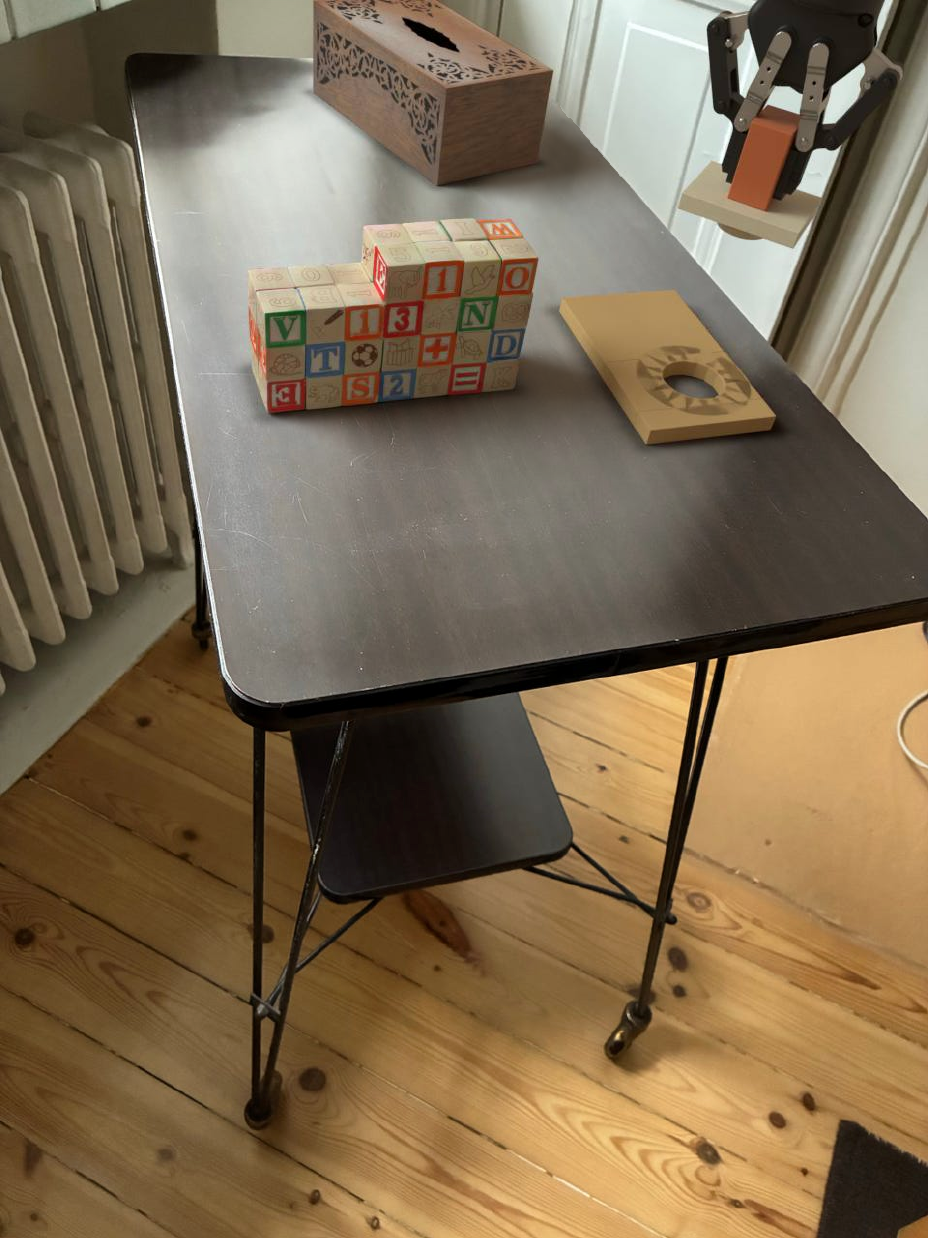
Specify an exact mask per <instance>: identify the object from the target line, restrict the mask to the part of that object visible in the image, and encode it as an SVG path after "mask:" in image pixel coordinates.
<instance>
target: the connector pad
mask: <svg viewBox="0 0 928 1238" xmlns="http://www.w3.org/2000/svg"><path fill="white" fill-rule="evenodd" d="M799 120H800V113H796V112H793V111H790V110H786V109H783V108H780V107H777V106H775V105H771V104H766V105H765V106H764V108H763V110H762V111H761V112H760V113H759V115H758V116H757V117H756V118H755V119H754V120H753V121H752V123H751V126H750V129H749V132H748V135H747V138H746V141H745V144H744V147H743V150H742V153H741V156H740V159H739V162H738V166H737V169H736V172H735V175H734V178H733V181H732V184H730V183H727V182H726V178H727V173H724V172H722V163H720V162H717V161H714V160H711V161H710V162H709V163H708V164H707V165H706V166H705V167H704V168H703V169H702V170H701V172H700V173H699V174H698V175H697V176H696V177H695V178H694V179H693V180H692V181H691V182H690V183H689V185H688V186H687V187H686V188H685V189H684V190H683V191H682V192H681V194H680V198H679V202H678V206H677V209H678V210H681V211H685V212H687V213H690V214H693V215H695V216H697V217H702V218H703V219H707V220H709V221H712V222H716V225H717V226H718V228H719V229H720V230H721V231H723V232H724V233H726V234H727V235H730V236H732V237H734V238H737V239H741V240H746V241H758V240H763V239H764V240H767V241H769V242H773V243H775V244H777V245H778V244H779V245H781V246H784V247H787V248H789V249H794V248H795V247H796V245H797V244H798V243H799V241H800V239H801V238H802V236H803V234H804V233H805V232H806V230H807V228H808V227H809V225H810V224H811V222H812V221H813V219H814V218H815V216H816V215H817V213H818V211H819V208H820V206H821V204H822V201H823V197H821V196H818V195H815V194H812V193H809V192H806V191H803V190H801V189H798V188H797V189H796V190H795V191H794V192H793V193H792V194H791V195H788V194H786V195H785V196H784V198H783V199H782V201H779V200H776V199H773V198H772V197H773V194H774V191H775V188H776V185H777V183H778V180H779V177H780V174H781V172H782V169H783V166H784V163H785V160H786V158H787V155H788V152H789V149H790V148H791V147H792V145H793V144H794V143H795V141H796V136H797V131H798V125H799Z"/></svg>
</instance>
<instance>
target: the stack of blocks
mask: <svg viewBox="0 0 928 1238" xmlns="http://www.w3.org/2000/svg"><path fill="white" fill-rule="evenodd" d="M362 231H363V233H362V248H361V261H360V262H346V263H333V264H309V265H308V264H307V265H292V266H286V267H283V266H282V267H281V266H280V267H266V268H265V267H264V268H263V267H262V268H249V269H247V293H248V295H247V296H248V325H249V326H248V328H249V338H250V340H249V341H250V355H251V369H252V370H251V371H252V372H253V375H254V378H255V382H256V385H257V387H258V390H259V394H260V398H261V401H262V403H263V406H264V408H265V410H266V412H267V414H273V413H281V412H290V411H298V410H304V409H305V410H318V409H327V408H328V409H329V408H336V407H337V408H338V407H341V406H344V407H345V406H346V407H347V406H356V405H358V406H359V405H368V404H376V403H378V402H379V403H381V402H392V401H401V400H402V401H403V400H411V399H420V398H430V397H440V396H441V397H442V396H446V395H447V396H455V395H466V394H477V393H478V394H479V393H488V392H490V393H491V392H499V391H509V390H513V389H515V388H516V387H515V386H516V381H517V377H518V371H519V367H520V360H521V359H520V357H521V353H522V349H523V345H524V340H525V335H526V331H527V330H526V329H527V326H528V323H529V318H530V313H531V309H532V305H533V304H532V303H533V297H534V292H533V290H534V285H535V280H536V274H537V270H538V264H539V258H540V257H539V255H538V254H537V253H536V251H535V250H534V249H533V247H532V246H531V244H530V243H529V241H528V240H527V238H526V237H525V236H524V234H523V233H522V232H521V230H520V229H519V228H518V227H517V225H516V223H514V221H513V220H512V219H511V218H496V219H476V218H473V217H471V218H456V219H455V218H452V219H440V220H439V221H436V220H431V221H415V222H404V223H402V224H401V223H387V224H385V223H384V224H369V225H368V224H367V225H364V226H363V229H362Z"/></svg>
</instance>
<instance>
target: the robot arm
mask: <svg viewBox="0 0 928 1238" xmlns="http://www.w3.org/2000/svg"><path fill="white" fill-rule="evenodd" d="M885 1H886V0H756V1H754V3H753V4H752V5H751V7H750V9H749V10H745V11H740V12H735V13H734V12H732V11H731V10H724V11H721V12H720V13H719V14H717V16H715V17H714V18H713V19H711V20H710V21H709V23H708V24H707V25H706V39H707V51H708V61H709V62H708V63H709V73H710V74H709V75H710V86H711V97H712V98H711V99H712V108H713V110H714V112H715V113H716V114H718V115H723V116H724V117H726V118H727V119H728V120H729V122H730V123H731V125H732V126H731V127H732V131H731V134H730V137H729V141H728V144H727V145H726V146H727V147H726V149H725V150H726V151H725V153H724V156H723V159H722V163H721V164H722V172H724V173H727V178H726V182H727V183H730V184H732V181H733V178H734V175H735V172H736V169H737V166H738V162H739V159H740V156H741V153H742V150H743V147H744V144H745V141H746V138H747V135H748V132H749V129H750V126H751V123H752V121H753V120H754V119H755V118H756V117H757V116H758V115H759V113H760V112H761V111H762V110H763V109H764V108H765V107H766V105H767V103H768V101H769V99H770V97H771V95H772V93H773V92H774V90H775V89H776V87H778V88H780V87H783V88H790V89H792V90H793V91H795V92H797V93H798V94H800V95H802V97H801V101H800V107H799V115H800V120H799V125H798V131H797V136H796V141H795V143H794V144H793V145H792V147H791V148H790V149H789V152H788V155H787V158H786V160H785V163H784V166H783V169H782V172H781V174H780V177H779V180H778V183H777V185H776V188H775V191H774V194H773V197H772V198H773V199H776V200H779V201H782V199H783V198H784V196H785V195H786V194H788V195H791V194H792V193H793V192H794V191H795V190H796V189H797V190H798V187H799V186H800V184H801V183H802V181H803V178H804V175H805V173H806V170H807V166H808V164H809V163H810V159H811V157H812V154H813V152H814V151H815V150H819V149H820V150H821V149H825V150H827V151H829V152H833V151H836V150H838V149H839V148H840V147H841V146H842V145H843V144H844V143H845V142H846V141H847V140H848V139H849V137H850V136H851V135H852V134H853V133H854V132H855V131H856V130H857V129H858V128H859V127H860V126H861V125H862V124H863V123H864V122H865V120H867V118H868V117H869V116H871V114H872V113H873V112H874V111H876V109H877V108H878V107H879V106H880V105H881V104H882V103H883V101H884V100H885V99H887V97H888V96H889V95H890V94H891V93H892V92H893V91H894V90H895V89H896V87H897V86H898V84H899V83H900V81H902V79H903V77H904V75H905V66H904V65H903V63H901V62H899V61H893V62H892V61H891V59H889V57H887V56H886V55H885V54H884V53H883V52H882V51H881V50H880V49H879V48H878V47H877V43H878V37H879V36H878V21H879V18H880V14H881V11H882V10H883V6H884V4H885ZM747 30H748V31H749V35H750V39H751V43H752V46H753V50H754V54H755V57H756V61H757V65H758V70H757V72H756V74H755V76H754V78H753V80H752V81H751V84H750V85H749V88H748V90H747V91H746V96H745V97H744V96H743V95H742V94H741V88H740V75H739V60H738V48H740V46H741V45H743V43H744V40H745V34H746V31H747ZM860 65H863V66H864V73H863V76H862V77H861V79H860V81H859V88H860V90H861V92H862V94H861V95H860V96H859V97H857V99H856V100H854V102H852V105H850V107H848V109H847V110H846V111H845V112H844V113H843V114H842V115H841V116H840V117H839V118H838V120H837V121H836V122H832V123H824V122H825V118H826V117H825V116H826V111H827V108H828V104H829V102H830V98H831V94H832V89H833V86H834V85H835V84H837V83H838V82H839V81H840V80H842V79H843V78H845V77H846V76H848V74H850V73H851V72H852V71H854V70H855V69H856V68H858V67H859V66H860Z"/></svg>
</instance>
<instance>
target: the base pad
mask: <svg viewBox="0 0 928 1238" xmlns="http://www.w3.org/2000/svg"><path fill="white" fill-rule="evenodd" d="M558 312H559V313H560V315H561V317H562V319H563V320H564V322H565V323H566V325H567V326H568V327H569V329H570V331H571V332H572V333H573V335H574V337H575V338H576V340H577V342H578V343H579V344H580V346H581V347H582V349H583V351H584V352H585V353H586V355H587V357H588V358H589V360H590V361H591V363H592V364H593V366H594V368H596V370H597V372H598V373H599V375H600V377H601V378H602V380H603V381H604V383H605V384H606V386H607V388H608V389H609V391H610V393H612V395H613V397H614V398H615V399H616V401H617V403H618V404H619V406H620V407H621V409H622V411H623V412H624V413H625V415H626V417H627V419H628V420H629V421H630V423H631V424H632V426H633V427H634V428H635V430H636V432H637V433H638V435H639V437H640V438H641V440H642V441H643V442H644V444H645V445H646V446H647V445H648V446H649V445H655V444H656V445H657V444H664V443H665V444H666V443H673V442H680V441H689V440H698V439H706V438H707V439H708V438H715V437H716V438H717V437H722V436H723V437H724V436H730V435H731V436H732V435H741V434H749V433H757V432H765V431H767V432H768V431H771V430H772V428H773V425H774V423H775V420H776V418H777V415H776V414H775V412H774V411H773V410H772V409H771V407H770V406H769V405H768V404H767V402H766V401H765V399H764V398H763V397H762V396H761V395H760V394H759V392H758V391H757V390H756V389H755V387H754V386H753V385H752V384H751V381H750V379H748V377H747V375H746V374H745V373H744V372H743V371H742V370H741V369H740V367H739V366H737V365H736V363H735V362H734V361H733V360H732V358H730V356H729V355H728V353H726V352H725V350H724V349H723V348H722V347H721V346H720V344H719V343H718V342H717V340H716V339H715V338H714V337H713V335H712V334H711V333H710V332H709V330H708V329H707V327H705V325H704V323H702V322H701V320H700V319H699V318H698V317H697V315H696V314H695V313H694V312H693V311H692V309H691V308H690V307H689V305H688V304H687V303H686V301H684V299H683V298H682V297H681V295H680V294H679V292H677V290H675V289H667V290H666V289H665V290H653V291H640V292H639V291H636V292H623V293H608V294H594V295H581V296H579V295H578V296H565V297H561V300H560V305H559V310H558ZM670 376H686V377H692V378H695V379H698V380H700V381H703V382H705V383H706V384H708V386H711V387H712V388H713V389H714V390H715V392H716V393H717V395H716V396H714V397H709V398H699V397H691V396H689V395H685V394H683V393H681V392H677V390H675V389H674V388H672V387H671V386H670V385H668V383H667V382H666V380H665V379H666V378H669V377H670Z"/></svg>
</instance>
